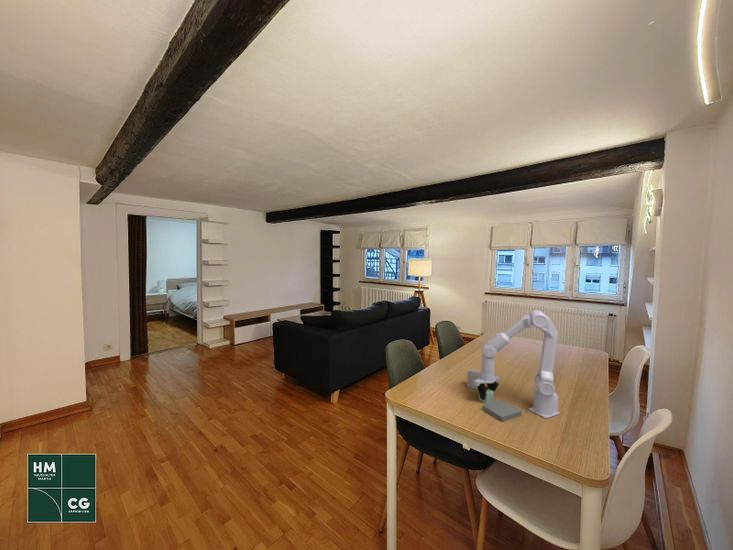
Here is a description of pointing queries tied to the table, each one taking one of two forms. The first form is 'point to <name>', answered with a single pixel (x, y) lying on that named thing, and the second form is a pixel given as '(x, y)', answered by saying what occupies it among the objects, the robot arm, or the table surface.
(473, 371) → the medicine box
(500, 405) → the slate plinth
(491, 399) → the sage cube
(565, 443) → the table surface
